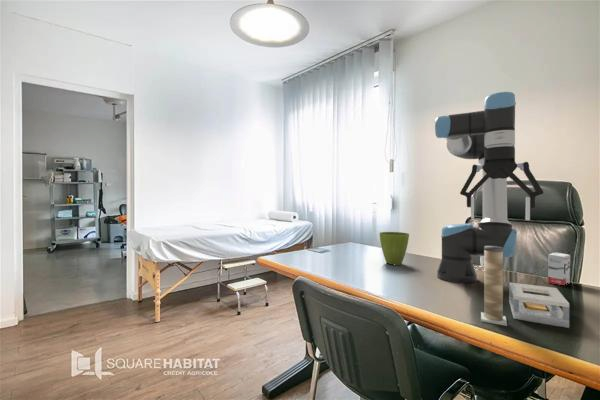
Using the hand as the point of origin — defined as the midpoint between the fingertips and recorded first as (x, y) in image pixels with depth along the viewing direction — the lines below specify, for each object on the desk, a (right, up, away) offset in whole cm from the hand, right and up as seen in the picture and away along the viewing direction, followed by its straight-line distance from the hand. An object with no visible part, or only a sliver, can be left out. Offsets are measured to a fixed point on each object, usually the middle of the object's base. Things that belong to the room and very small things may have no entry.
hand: (498, 219), depth 89 cm
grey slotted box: (+11, -28, 0) cm, 30 cm away
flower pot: (-10, -28, +68) cm, 74 cm away
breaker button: (+11, -28, 0) cm, 30 cm away
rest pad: (-4, -28, -4) cm, 29 cm away
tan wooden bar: (-4, -28, -4) cm, 28 cm away
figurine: (+31, -28, +58) cm, 71 cm away
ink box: (+46, -28, +32) cm, 63 cm away
